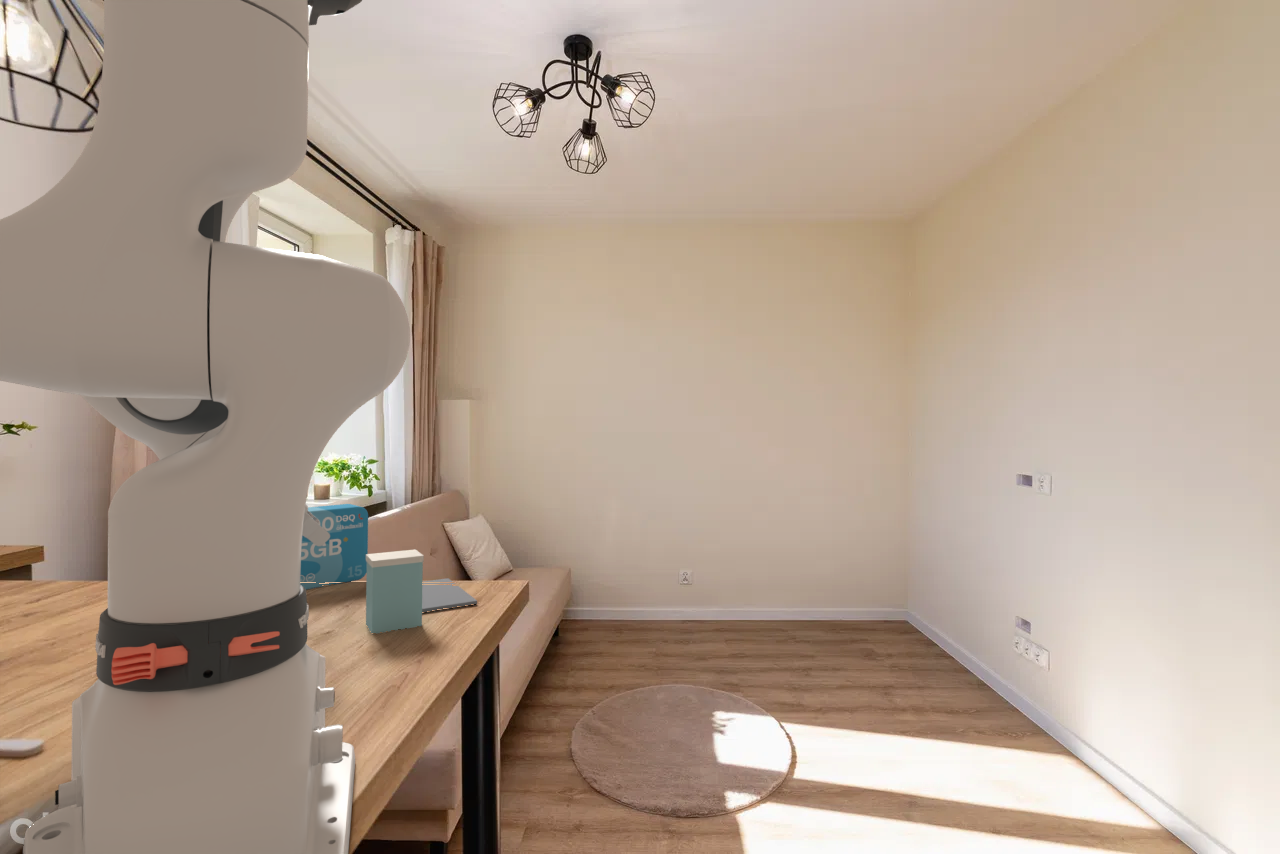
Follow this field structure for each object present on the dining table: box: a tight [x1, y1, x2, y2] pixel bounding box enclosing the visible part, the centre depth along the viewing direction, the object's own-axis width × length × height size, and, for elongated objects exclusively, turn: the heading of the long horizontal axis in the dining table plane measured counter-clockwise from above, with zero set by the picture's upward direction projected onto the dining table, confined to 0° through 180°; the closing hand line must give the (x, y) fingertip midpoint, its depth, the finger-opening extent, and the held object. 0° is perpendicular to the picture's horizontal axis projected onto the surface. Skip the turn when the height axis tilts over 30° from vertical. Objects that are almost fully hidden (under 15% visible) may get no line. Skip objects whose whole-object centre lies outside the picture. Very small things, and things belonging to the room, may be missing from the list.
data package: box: [300, 503, 369, 591], centre depth 99 cm, size 12×4×12 cm, turn 139°
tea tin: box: [365, 549, 425, 634], centre depth 80 cm, size 4×6×9 cm
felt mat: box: [422, 577, 478, 613], centre depth 92 cm, size 14×12×1 cm
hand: (319, 533), depth 75 cm, fingers open, 8 cm apart
